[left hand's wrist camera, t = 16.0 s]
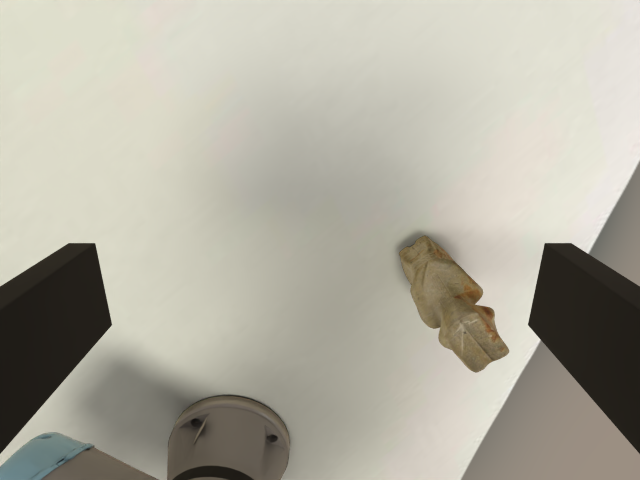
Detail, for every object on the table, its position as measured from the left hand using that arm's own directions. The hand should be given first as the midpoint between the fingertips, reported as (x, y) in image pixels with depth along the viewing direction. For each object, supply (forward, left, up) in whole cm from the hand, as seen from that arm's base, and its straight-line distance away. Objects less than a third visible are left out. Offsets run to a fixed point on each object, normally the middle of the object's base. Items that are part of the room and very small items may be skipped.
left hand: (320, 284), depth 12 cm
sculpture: (-9, -14, -30) cm, 35 cm away
